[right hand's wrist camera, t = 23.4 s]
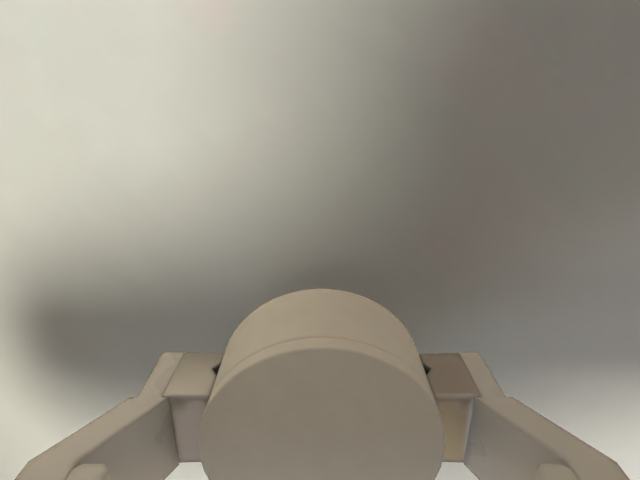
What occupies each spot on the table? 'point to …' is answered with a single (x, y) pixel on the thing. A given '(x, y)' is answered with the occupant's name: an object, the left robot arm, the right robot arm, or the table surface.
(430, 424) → the lid
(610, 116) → the table surface
